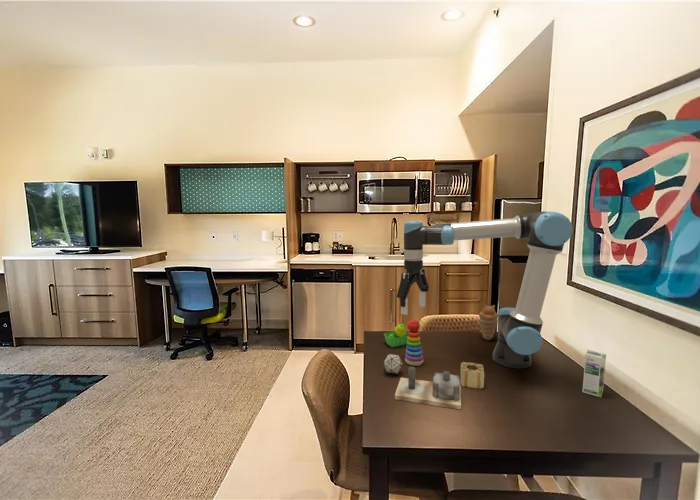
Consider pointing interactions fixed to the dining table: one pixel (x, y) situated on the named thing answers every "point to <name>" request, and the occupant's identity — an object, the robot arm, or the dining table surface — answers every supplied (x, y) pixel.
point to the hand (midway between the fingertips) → (413, 310)
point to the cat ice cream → (488, 321)
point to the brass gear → (472, 375)
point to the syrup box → (594, 373)
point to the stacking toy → (414, 345)
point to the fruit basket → (397, 336)
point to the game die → (393, 363)
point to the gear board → (431, 390)
